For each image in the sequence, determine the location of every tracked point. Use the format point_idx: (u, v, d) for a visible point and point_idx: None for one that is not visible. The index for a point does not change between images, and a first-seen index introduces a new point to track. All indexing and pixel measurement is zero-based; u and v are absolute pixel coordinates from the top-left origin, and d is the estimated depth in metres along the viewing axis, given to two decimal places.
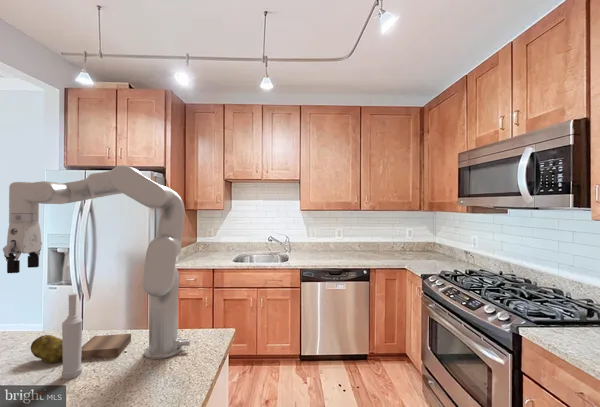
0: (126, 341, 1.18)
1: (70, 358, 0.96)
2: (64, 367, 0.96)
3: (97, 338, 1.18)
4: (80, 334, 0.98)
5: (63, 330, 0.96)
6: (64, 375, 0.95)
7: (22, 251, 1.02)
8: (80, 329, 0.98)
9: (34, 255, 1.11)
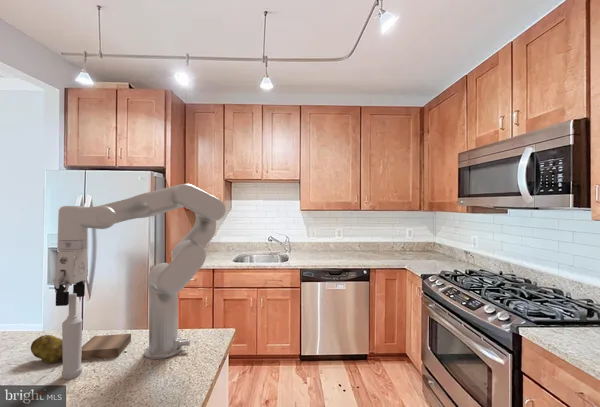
0: (126, 341, 1.18)
1: (70, 358, 0.96)
2: (64, 367, 0.96)
3: (97, 338, 1.18)
4: (80, 334, 0.98)
5: (63, 330, 0.96)
6: (64, 375, 0.95)
7: (72, 282, 0.94)
8: (80, 329, 0.98)
9: (80, 283, 1.03)
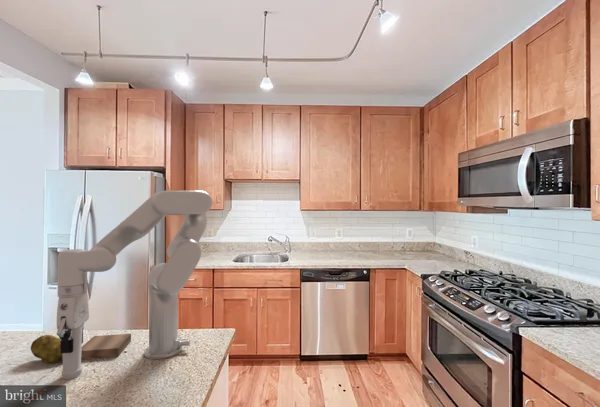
0: (126, 341, 1.18)
1: (70, 358, 0.96)
2: (64, 367, 0.96)
3: (97, 338, 1.18)
4: (80, 334, 0.98)
5: None
6: (64, 375, 0.95)
7: (73, 328, 0.94)
8: (80, 329, 0.98)
9: None
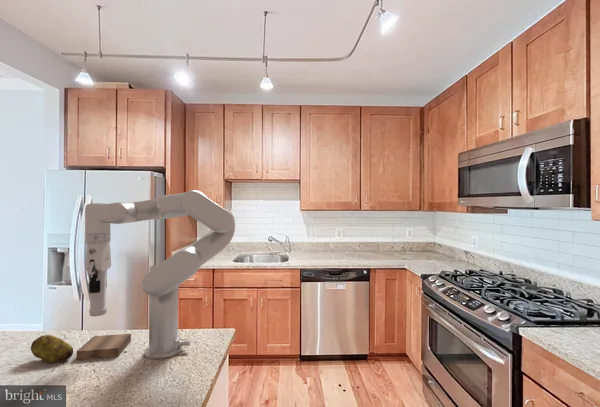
0: (126, 341, 1.18)
1: (97, 298, 1.08)
2: (92, 306, 1.08)
3: (97, 338, 1.18)
4: (105, 278, 1.11)
5: None
6: (92, 313, 1.08)
7: (100, 270, 1.07)
8: (105, 273, 1.11)
9: None
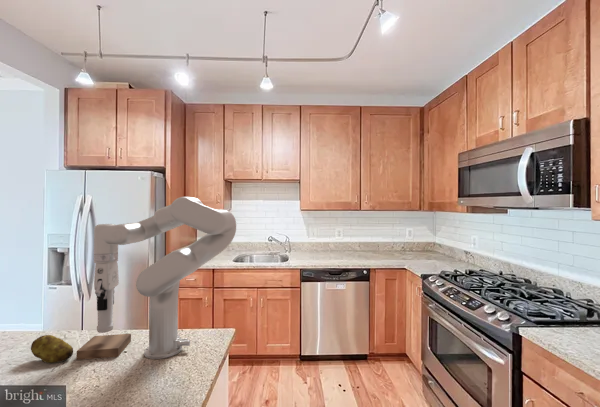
0: (126, 341, 1.18)
1: (104, 315, 1.13)
2: (99, 322, 1.13)
3: (97, 338, 1.18)
4: (112, 295, 1.16)
5: None
6: (99, 329, 1.13)
7: (108, 289, 1.11)
8: (112, 291, 1.16)
9: None
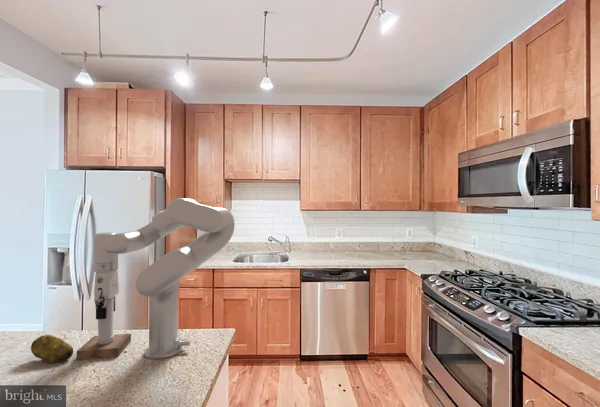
0: (126, 341, 1.18)
1: (104, 327, 1.13)
2: (100, 334, 1.13)
3: (97, 338, 1.18)
4: (112, 307, 1.15)
5: None
6: (100, 341, 1.13)
7: (108, 298, 1.11)
8: (112, 302, 1.15)
9: None
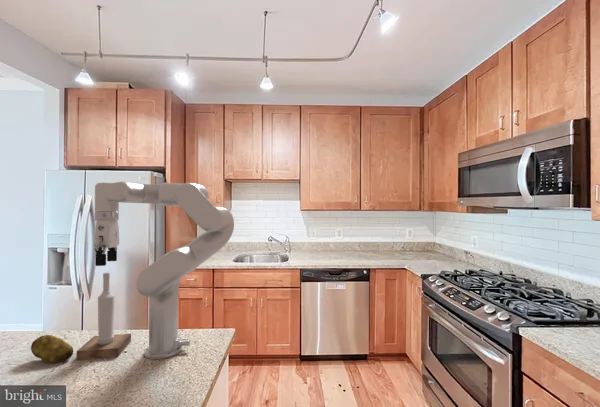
0: (126, 341, 1.18)
1: (105, 327, 1.13)
2: (100, 334, 1.13)
3: (97, 338, 1.18)
4: (113, 307, 1.15)
5: (99, 303, 1.13)
6: (100, 341, 1.13)
7: (108, 246, 1.11)
8: (113, 303, 1.15)
9: (113, 250, 1.20)
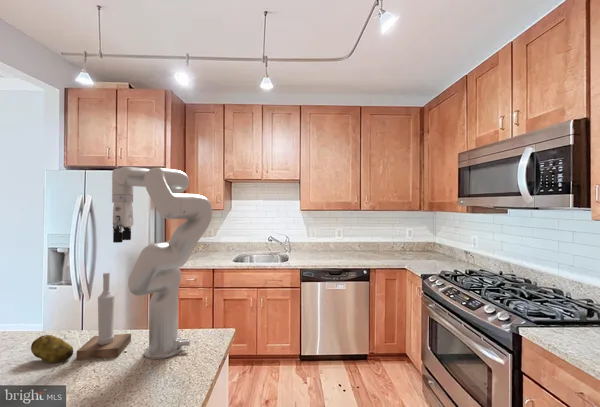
0: (126, 341, 1.18)
1: (105, 327, 1.13)
2: (100, 334, 1.13)
3: (97, 338, 1.18)
4: (113, 307, 1.15)
5: (99, 303, 1.13)
6: (100, 341, 1.13)
7: (125, 225, 1.25)
8: (113, 303, 1.15)
9: (127, 230, 1.33)
